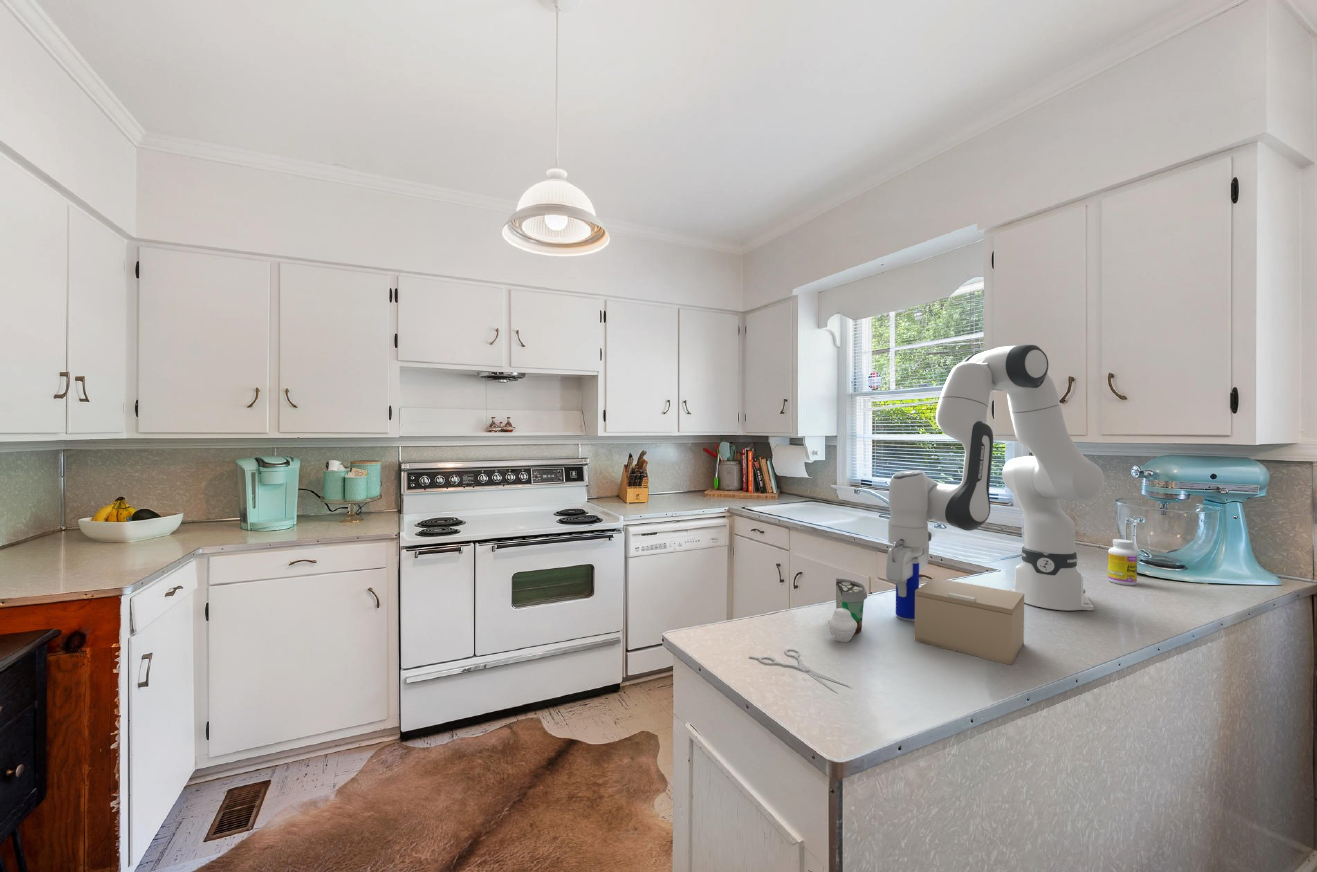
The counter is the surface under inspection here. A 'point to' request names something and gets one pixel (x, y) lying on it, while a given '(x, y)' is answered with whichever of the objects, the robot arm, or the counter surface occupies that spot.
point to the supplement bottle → (1122, 563)
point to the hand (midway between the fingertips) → (907, 592)
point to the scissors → (798, 667)
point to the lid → (971, 595)
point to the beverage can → (908, 596)
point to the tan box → (970, 629)
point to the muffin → (842, 625)
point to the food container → (851, 599)
